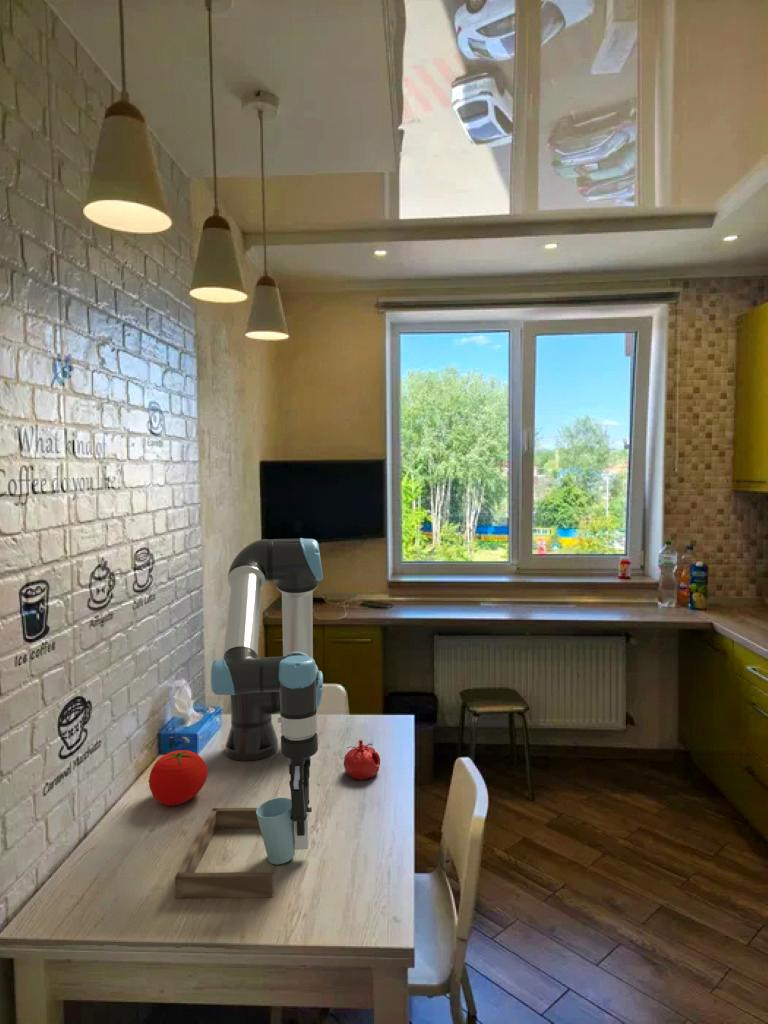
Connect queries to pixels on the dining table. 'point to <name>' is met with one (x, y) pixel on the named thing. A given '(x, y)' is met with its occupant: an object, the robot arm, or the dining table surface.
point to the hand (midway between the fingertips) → (302, 846)
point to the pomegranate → (362, 762)
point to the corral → (223, 882)
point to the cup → (277, 829)
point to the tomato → (177, 777)
